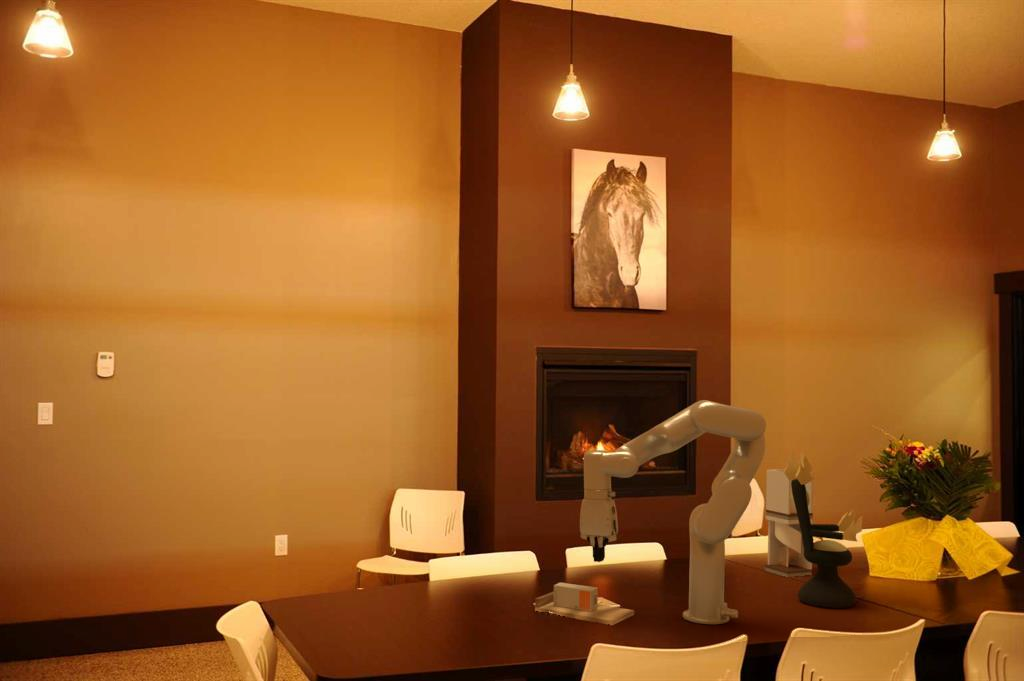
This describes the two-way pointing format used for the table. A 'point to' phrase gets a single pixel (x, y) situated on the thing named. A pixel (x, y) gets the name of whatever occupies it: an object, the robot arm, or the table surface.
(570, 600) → the skincare box
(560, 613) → the board
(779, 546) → the white pedestal stand
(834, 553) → the black chair
